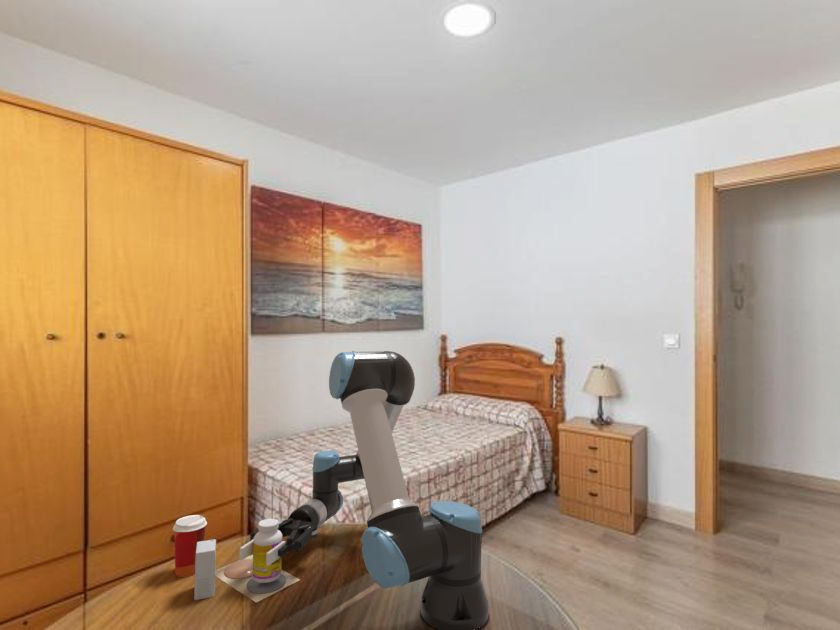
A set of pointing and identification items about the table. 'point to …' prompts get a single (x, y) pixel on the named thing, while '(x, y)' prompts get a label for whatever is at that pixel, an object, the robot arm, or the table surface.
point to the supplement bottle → (262, 545)
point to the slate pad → (266, 585)
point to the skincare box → (205, 569)
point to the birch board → (242, 583)
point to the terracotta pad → (239, 569)
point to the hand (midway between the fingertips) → (254, 556)
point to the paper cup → (187, 543)
